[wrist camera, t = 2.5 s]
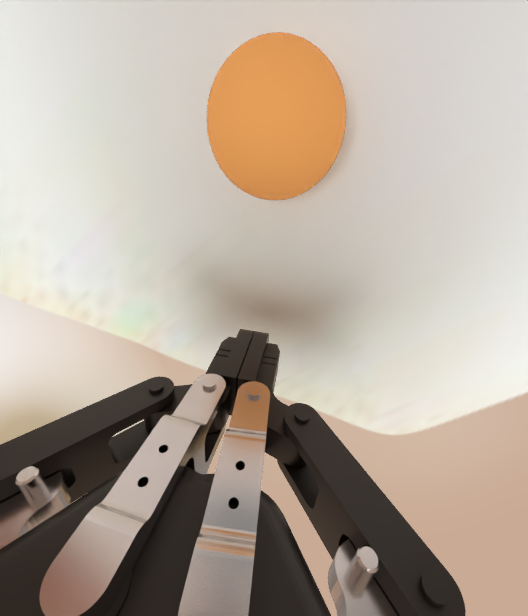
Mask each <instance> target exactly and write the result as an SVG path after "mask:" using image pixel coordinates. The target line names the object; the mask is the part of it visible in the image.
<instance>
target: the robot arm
mask: <svg viewBox="0 0 528 616" xmlns="http://www.w3.org/2000/svg"><path fill="white" fill-rule="evenodd" d="M268 340H269V334H268V333H262V332H256V331H255V332H254V331H249V330H243V329H240V331H239V333H238V335H237V337H236V338H233V337H228V338H227V339H226V340H224V341H223V342H222V343H221V345H220V347H219V350H218V351H217V353H216V355H215V357H214V359H213V361H212V363H211V365H210V366H209V368H208V370H207V372H206V374H205V375H202V376H200V377H198V378H197V379H196V380H195V381H194V383H193V384H191V385H183V386H174V384H173V382H172V381H171V380H170V379H169V378H166V377H154V378H151V379H149V380H146V381H144V382H142V383H139V384H137V385H135V386H133V387H130V388H128V389H126V390H123V391H121V392H119V393H117V394H114V395H112V396H110V397H108V398H105V399H103V400H101V401H99V402H96V403H94V404H92V405H89V406H87V407H85V408H83V409H81V410H78V411H76V412H74V413H71V414H69V415H67V416H65V417H62V418H60V419H58V420H56V421H53V422H51V423H49V424H46V425H44V426H42V427H40V428H37V429H35V430H33V431H31V432H28V433H26V434H24V435H22V436H20V437H17V438H15V439H13V440H10V441H8V442H6V443H4V444H1V445H0V616H331V614H330V612H329V610H328V608H327V606H326V604H325V602H324V600H323V597H322V595H321V593H320V591H319V589H318V587H317V585H316V583H315V580H314V579H313V576H312V574H311V572H310V570H309V568H308V566H307V564H306V561H305V559H304V558H303V555H302V553H301V551H300V549H299V547H298V544H297V542H296V540H295V538H294V536H293V534H292V532H291V530H290V528H289V526H288V523H287V521H286V519H285V517H284V515H283V513H282V512H281V510H280V509H279V507H278V506H277V504H276V503H275V502H274V501H273V500H272V499H271V498H270V497H269V496H268V495H267V494H266V493H264V492H263V491H261V482H262V473H263V463H264V453H265V452H266V453H268V454H269V455H271V456H273V457H275V458H276V459H277V462H278V464H279V467H280V469H281V470H282V472H283V474H284V476H285V477H286V479H287V481H288V482H289V484H290V486H291V487H292V489H293V491H294V492H295V495H296V496H297V498H298V500H299V502H300V503H301V505H302V507H303V509H304V510H305V512H306V514H307V516H308V517H309V519H310V521H311V522H312V524H313V526H314V528H315V530H316V531H317V533H318V535H319V536H320V538H321V540H322V542H323V543H324V545H325V547H326V549H327V550H328V552H329V554H330V556H331V557H332V559H333V561H332V564H331V566H330V568H329V572H328V585H329V589H330V593H331V596H332V598H333V601H334V603H335V607H336V610H337V616H465V605H464V601H463V597H462V594H461V592H460V590H459V588H458V586H457V584H456V582H455V581H454V579H453V578H452V576H451V575H450V574H449V572H448V571H447V570H446V569H445V567H444V566H443V565H442V564H441V563H440V561H439V560H438V559H437V558H436V557H435V555H434V554H433V553H432V552H431V550H430V549H429V548H428V547H427V546H426V544H425V543H424V542H423V541H422V539H421V538H420V537H419V536H418V535H417V533H416V532H415V531H414V530H413V529H412V527H411V526H410V525H409V524H408V522H407V521H406V520H405V519H404V518H403V516H402V515H401V514H400V513H399V512H398V510H397V509H396V508H395V507H394V505H393V504H392V503H391V502H390V501H389V499H388V498H387V497H386V496H385V494H384V493H383V492H382V491H381V490H380V489H379V487H378V486H377V485H376V483H375V482H374V481H373V480H372V479H371V477H370V476H369V475H368V474H367V473H366V471H364V469H363V468H362V466H361V465H360V464H359V463H358V462H357V460H356V459H355V458H354V457H353V456H352V454H351V453H350V452H349V451H348V449H347V448H346V447H345V446H344V445H343V443H342V442H341V441H340V440H339V439H338V437H337V436H336V435H335V434H334V433H333V431H332V430H331V429H330V428H329V426H328V425H327V424H326V423H325V421H324V420H323V419H322V418H321V417H320V415H319V414H318V413H317V412H316V411H315V410H314V409H313V408H312V407H310V406H309V405H306V404H302V403H295V404H292V405H290V406H287V405H285V404H283V403H281V402H280V401H279V400H278V399H277V398H276V397H275V396H274V394H273V392H274V386H275V381H276V376H277V369H278V362H279V354H280V351H279V348H278V346H277V345H276V344H270V343H268ZM229 415H232V417H231V421H230V425H229V429H227V430H226V432H225V435H224V440H223V443H222V447H221V451H220V455H219V459H218V463H217V467H216V471H215V474H207V471H208V468H209V465H210V463H211V461H212V459H213V456H214V454H215V452H216V449H217V447H218V445H219V442H220V440H221V438H222V435H223V433H224V431H225V424H226V422H227V419H228V416H229ZM142 419H144V421H143V422H141V423H139V424H137V425H135V426H133V427H131V428H129V429H127V430H125V431H124V432H122V433H120V434H118V435H116V436H114V437H112V436H113V435H115V434H116V433H118V432H119V431H121V430H123V429H125V428H127V427H129V426H131V425H133V424H135V423H137V422H139V421H141V420H142ZM111 437H112V438H111ZM91 490H92V491H91ZM86 493H87V494H86ZM83 495H84V496H83ZM81 496H82V497H81ZM80 497H81V498H80ZM78 498H79V499H78ZM77 499H78V500H77ZM75 500H76V501H75ZM73 501H75V502H73ZM71 502H73V503H71ZM70 503H71V504H70ZM69 504H70V505H69Z"/></svg>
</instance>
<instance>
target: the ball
mask: <svg viewBox="0 0 528 616" xmlns="http://www.w3.org/2000/svg"><path fill="white" fill-rule="evenodd" d="M345 125H346V103H345V96H344V91H343V87H342V84H341V81H340V79H339V76H338V74H337V72H336V70H335V68H334V66H333V65H332V63H331V62H330V60H329V59H328V58H327V56H326V55H325V54H324V53H323V52H322V51H321V50H320V49H319V48H317V47H316V46H315V45H313V44H312V43H311V42H309V41H307V40H305V39H304V38H302V37H299V36H296V35H293V34H289V33H281V32H279V33H268V34H263V35H260V36H257V37H255V38H252V39H250V40H249V41H247V42H245V43H244V44H242V45H241V46H240V47H238V48H237V49H236V50H235V51H234V52H233V53H232V54H231V55H230V56H229V57H228V58H227V59H226V61H225V62H224V64H223V65H222V67H221V68H220V70H219V72H218V74H217V76H216V78H215V80H214V82H213V85H212V88H211V91H210V95H209V99H208V107H207V130H208V136H209V141H210V145H211V148H212V151H213V154H214V156H215V159H216V161H217V163H218V164H219V166H220V168H221V169H222V171H223V172H224V174H225V175H226V176H227V177H228V178H229V180H230V181H231V182H232V183H233V184H235V185H236V186H237V187H238V188H240V189H241V190H243V191H244V192H246V193H248V194H250V195H252V196H255V197H258V198H261V199H267V200H284V199H288V198H292V197H295V196H298V195H300V194H302V193H304V192H306V191H307V190H309V189H310V188H312V187H313V186H314V185H316V184H317V183H318V182H319V181H320V180H321V179H322V178H323V177H324V175H325V174H326V173H327V172H328V171H329V169H330V168H331V166H332V164H333V163H334V161H335V159H336V157H337V155H338V153H339V150H340V147H341V145H342V141H343V137H344V133H345Z"/></svg>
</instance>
